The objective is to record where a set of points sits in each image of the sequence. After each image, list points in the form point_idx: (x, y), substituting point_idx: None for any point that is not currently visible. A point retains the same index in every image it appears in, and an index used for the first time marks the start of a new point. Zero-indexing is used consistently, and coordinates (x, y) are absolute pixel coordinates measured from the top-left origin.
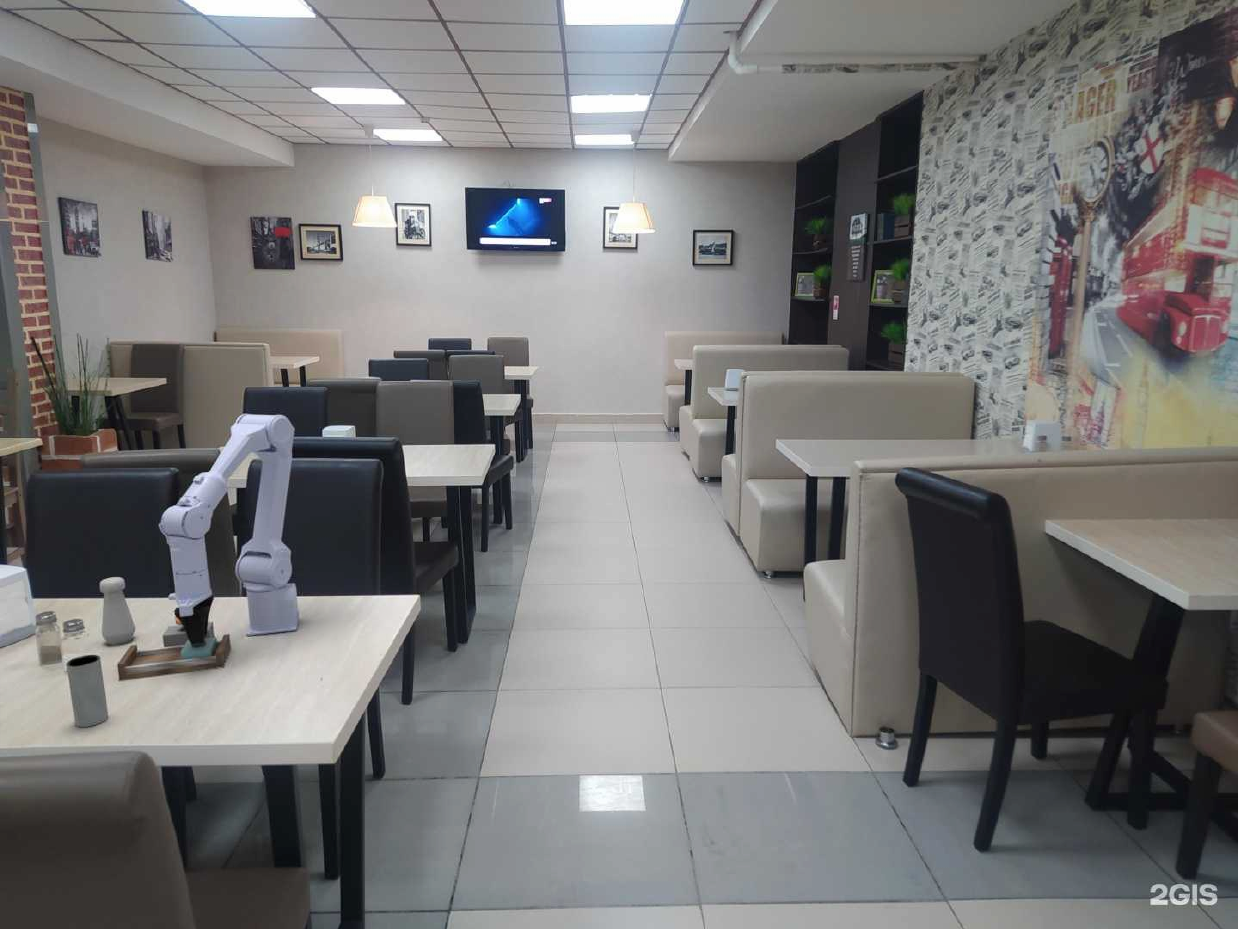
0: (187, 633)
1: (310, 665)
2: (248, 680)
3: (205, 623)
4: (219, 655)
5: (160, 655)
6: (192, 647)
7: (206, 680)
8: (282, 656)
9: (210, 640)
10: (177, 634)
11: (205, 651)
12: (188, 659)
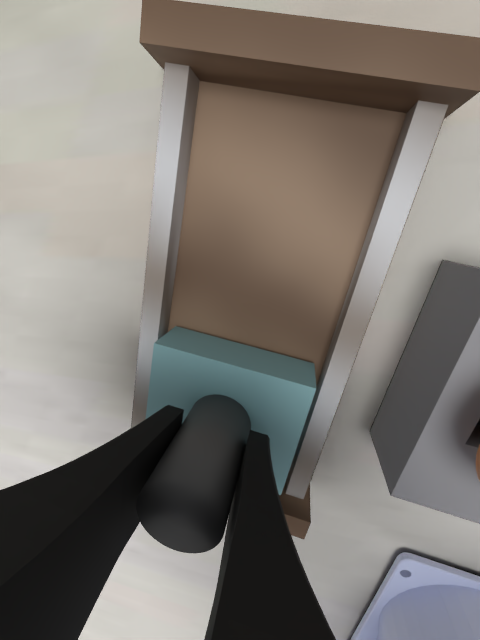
0: (122, 438)
1: None
2: (30, 460)
3: (223, 553)
4: None
5: (342, 244)
6: (199, 396)
7: (63, 374)
8: (156, 559)
9: None
10: (457, 359)
11: None
12: (149, 357)
